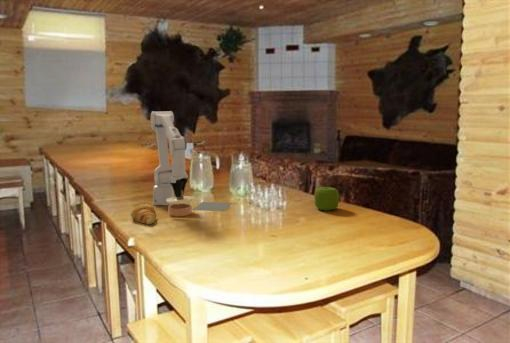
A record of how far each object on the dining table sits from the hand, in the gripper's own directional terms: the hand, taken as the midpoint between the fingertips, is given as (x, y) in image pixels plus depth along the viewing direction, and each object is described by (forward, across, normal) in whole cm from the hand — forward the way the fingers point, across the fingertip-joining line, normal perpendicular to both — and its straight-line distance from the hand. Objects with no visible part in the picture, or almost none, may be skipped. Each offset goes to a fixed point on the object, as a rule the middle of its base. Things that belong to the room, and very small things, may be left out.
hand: (179, 196), depth 194 cm
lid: (+2, 0, 0) cm, 2 cm away
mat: (+8, +14, -11) cm, 20 cm away
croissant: (+8, -11, +12) cm, 18 cm away
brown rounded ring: (+8, 0, 0) cm, 8 cm away
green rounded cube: (+8, +19, -63) cm, 66 cm away
